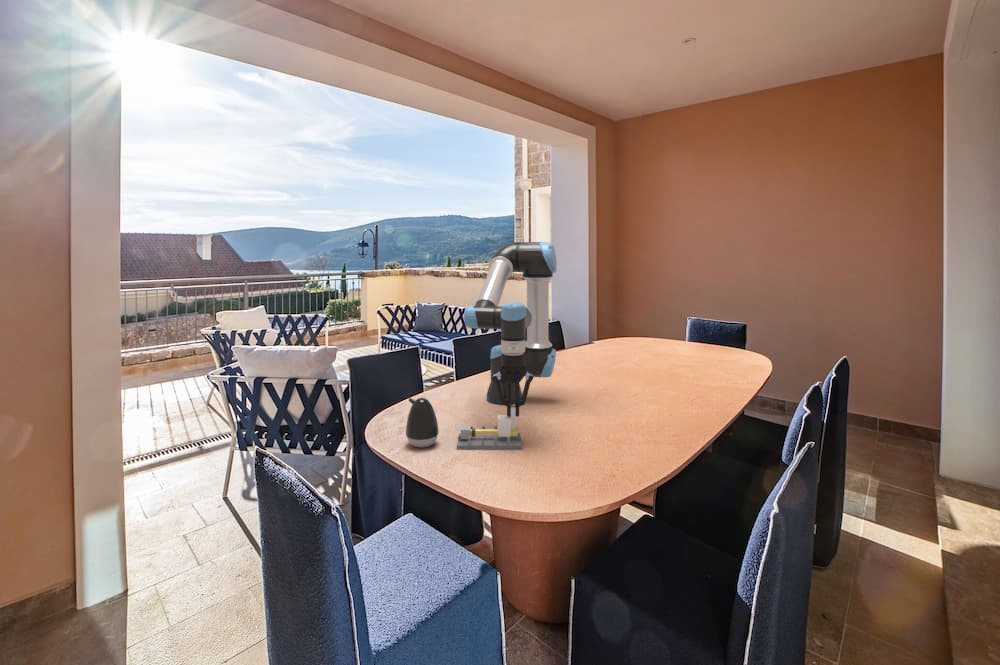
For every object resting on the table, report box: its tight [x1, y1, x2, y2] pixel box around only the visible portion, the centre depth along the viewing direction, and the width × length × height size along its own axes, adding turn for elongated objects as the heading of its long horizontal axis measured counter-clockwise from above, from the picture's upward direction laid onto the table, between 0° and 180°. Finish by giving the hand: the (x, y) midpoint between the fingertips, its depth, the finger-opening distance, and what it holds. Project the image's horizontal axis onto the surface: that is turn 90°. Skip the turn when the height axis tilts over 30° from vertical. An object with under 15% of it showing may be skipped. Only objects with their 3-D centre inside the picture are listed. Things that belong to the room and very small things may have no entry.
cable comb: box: [456, 425, 523, 450], centre depth 155 cm, size 20×11×5 cm, turn 90°
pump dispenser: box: [405, 397, 439, 449], centre depth 153 cm, size 10×10×15 cm
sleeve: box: [497, 414, 512, 437], centre depth 155 cm, size 4×4×6 cm
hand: (512, 426), depth 155 cm, fingers closed
